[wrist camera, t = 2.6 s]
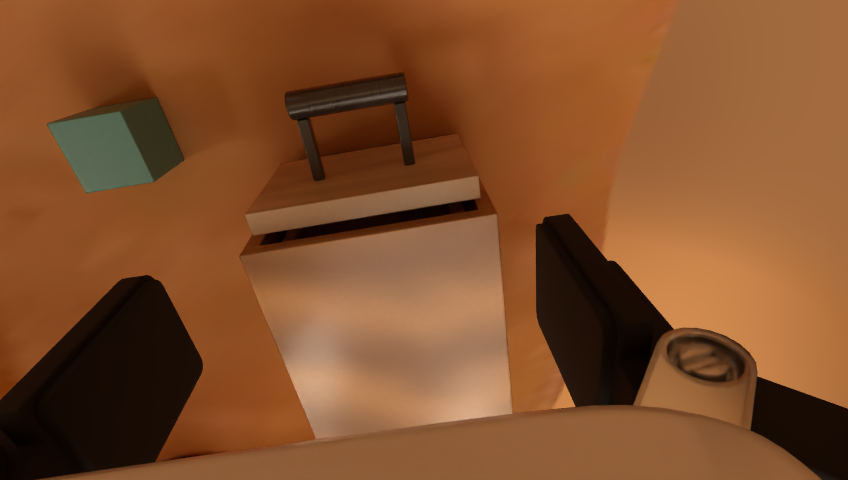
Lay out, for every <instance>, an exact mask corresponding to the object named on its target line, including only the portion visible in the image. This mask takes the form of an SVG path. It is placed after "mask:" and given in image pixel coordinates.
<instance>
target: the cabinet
mask: <svg viewBox="0 0 848 480" xmlns="http://www.w3.org/2000/svg"><path fill="white" fill-rule="evenodd" d="M479 184H480V195H481V198H478V199H472V200H466V201H461V202H462V205H463V208H464V211H465V212H461V213H455V214H449V215H443V216H437V217H431V218H425V219H419V220H413V221H407V222H400V223H394V224H388V225H382V226H376V227H370V228H364V229H358V230H352V231H346V232H340V233H334V234H328V235H322V236H316V237H310V238H304V239H298V240H292V241H286V242H282V241H283V239H284V237H285V235H286V233H287V231H288V230H285V231H279V232H273V233H267V234H261V235H255V236H253V235H252V236H251V238H250V239H249V241H248V243H247V244H246V246H245V248H244V249H243V251H242V252H241V254H240V256H239V257H240V259H241V262H242V264H243V266H244V269H245V271H246V274H247V276H248V278H249V281H250V283H251V285H252V288H253V290H254V293H255V295H256V297H257V300H258V302H259V304H260V307H261V309H262V312H263V314H264V316H265V319H266V321H267V324H268V326H269V328H270V331H271V333H272V335H273V338H274V340H275V343H276V345H277V347H278V350H279V352H280V354H281V357H282V359H283V362H284V364H285V366H286V369H287V371H288V373H289V376H290V378H291V381H292V383H293V385H294V388H295V390H296V393H297V395H298V397H299V400H300V402H301V404H302V407H303V409H304V412H305V414H306V416H307V419H308V421H309V423H310V426H311V428H312V431H313V433H314V435H315V438H316V440H317V439H324V438H331V437H339V436H346V435H353V434H361V433H368V432H376V431H383V430H391V429H398V428H406V427H413V426H421V425H428V424H435V423H443V422H450V421H458V420H465V419H473V418H482V417H490V416H498V415H506V414H513V407H512V394H511V381H510V368H509V355H508V342H507V329H506V316H505V304H504V291H503V278H502V265H501V252H500V239H499V226H498V214H497V212H496V210H495V208H494V206H493V204H492V202H491V200H490V198H489V196H488V194H487V192H486V190H485V188H484V186H483V184H482V182H481V180H480V178H479Z"/></svg>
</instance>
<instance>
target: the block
mask: <svg viewBox="0 0 848 480" xmlns="http://www.w3.org/2000/svg"><path fill="white" fill-rule="evenodd" d="M47 126H48V128H49V129H50V131H51V133H52V134H53V136H54V138H55V140H56V141H57V143H58V145H59V147H60V148H61V150H62V152H63V154H64V155H65V157H66V159H67V161H68V162H69V164H70V166H71V168H72V169H73V171H74V173H75V175H76V176H77V178H78V180H79V182H80V183H81V185H82V187H83V189H84V190H85V192H86V193H92V192H97V191H103V190H109V189H115V188H121V187H127V186H133V185H139V184H145V183H151V182H155V181H156V180H157V179H159V178H160V177H162V176H163V175H164V174H166V173H167V172H169V171H170V170H171V169H173V168H174V167H175V166H177V165H178V164H180V163H181V162H182V161H184V159H183V156H182V154H181V152H180V149H179V147H178V145H177V143H176V140H175V138H174V136H173V133H172V131H171V129H170V127H169V124H168V122H167V120H166V117H165V115H164V113H163V111H162V108H161V106H160V104H159V101H158V99H157V98H150V99H144V100H138V101H132V102H127V103H121V104H115V105H109V106H103V107H98V108H92V109H89V110H86V111H83V112H80V113H77V114H74V115H71V116H68V117H65V118H62V119H59V120H56V121H53V122H50V123H47Z"/></svg>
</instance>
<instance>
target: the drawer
mask: <svg viewBox="0 0 848 480" xmlns="http://www.w3.org/2000/svg"><path fill="white" fill-rule="evenodd" d="M408 100H409V98H408V92H407V86H406V80H405V74H404V72H399V73H393V74H387V75H381V76H375V77H370V78H364V79H358V80H352V81H346V82H340V83H335V84H329V85H323V86H317V87H311V88H306V89H300V90H294V91H288V92H286V93H285V105H286V109H287V112H288V114H289V116H290V118H291V119H292V120H297V124H298V128H299V131H300V135H301V138H302V141H303V145H304V148H305V152H306V155H307V158H308V159H305V160H299V161H293V162H287V163H282V164H281V165H280V166H279V168H278V169H277V170H276V172H275V173H274V175H273V176H272V177H271V179H270V180H269V182H268V183H267V184H266V186H265V187H264V188H263V190H262V191H261V193H260V194H259V195H258V197H257V198H256V200H255V201H254V202H253V204H252V205H251V206H250V208H249V209H248V211H247V212H246V213H245V217H246V220H247V222H248V225H249V227H250V230H251V232H252V235H253V236H255V235H261V234H267V233H273V232H279V231H285V230H288V231H287V233H286V235H285V237H284V239H283V241H282V242H286V241H292V240H298V239H304V238H310V237H316V236H322V235H328V234H334V233H340V232H346V231H352V230H358V229H364V228H370V227H376V226H382V225H388V224H394V223H400V222H407V221H413V220H419V219H425V218H431V217H437V216H443V215H449V214H455V213H461V212H465V211H464V208H463V205H462V202H461V201H466V200H472V199H478V198H481V195H480V184H479V176H478V174H477V172H476V170H475V168H474V166H473V164H472V162H471V160H470V158H469V156H468V154H467V152H466V150H465V148H464V146H463V144H462V142H461V140H460V138H459V137H458V135H457V134H453V135H447V136H441V137H435V138H429V139H423V140H417V141H412V139H411V134H410V128H409V122H408V116H407V110H406V104H405V101H408ZM393 103H394V110H395V115H396V121H397V126H398V132H399V137H400V144H394V145H388V146H382V147H376V148H370V149H364V150H358V151H352V152H346V153H340V154H334V155H328V156H323V157H321V156H320V153H319V149H318V145H317V142H316V138H315V135H314V131H313V127H312V124H311V120H310V118H311V117H317V116H323V115H329V114H334V113H340V112H346V111H352V110H358V109H364V108H370V107H375V106H381V105H387V104H393Z"/></svg>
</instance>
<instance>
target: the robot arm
mask: <svg viewBox="0 0 848 480" xmlns="http://www.w3.org/2000/svg"><path fill="white" fill-rule="evenodd" d="M536 312H537V319H538V323H539V326H540V328H541V330H542V332H543V335H544V337H545V339H546V341H547V344H548V346H549V348H550V350H551V352H552V355H553V357H554V359H555V361H556V364H557V366H558V368H559V370H560V373H561V375H562V377H563V379H564V382H565V384H566V386H567V388H568V390H569V392H570V395H571V397H572V400H573V402H574V404H575V406H576V407H572V408H561V409H549V410H539V411H529V412H520V413H513V414H506V415H498V416H490V417H482V418H473V419H465V420H458V421H450V422H443V423H435V424H428V425H421V426H413V427H406V428H398V429H391V430H383V431H376V432H368V433H361V434H353V435H346V436H339V437H331V438H324V439H317V440H310V441H302V442H295V443H288V444H281V445H274V446H266V447H259V448H252V449H245V450H238V451H231V452H224V453H217V454H210V455H202V456H195V457H188V458H181V459H175V460H168V461H161V462H155V461H156V459H157V457H158V455H159V453H160V451H161V450H162V448H163V446H164V444H165V442H166V440H167V438H168V436H169V434H170V432H171V431H172V429H173V427H174V425H175V423H176V421H177V419H178V417H179V415H180V413H181V411H182V410H183V408H184V406H185V404H186V402H187V400H188V398H189V396H190V394H191V392H192V390H193V389H194V387H195V385H196V383H197V381H198V379H199V377H200V375H201V373H202V369H203V363H202V359H201V357H200V355H199V353H198V351H197V349H196V347H195V345H194V343H193V342H192V340H191V338H190V336H189V334H188V332H187V330H186V328H185V326H184V324H183V323H182V321H181V319H180V317H179V315H178V313H177V311H176V309H175V307H174V305H173V304H172V302H171V300H170V298H169V296H168V294H167V292H166V290H165V288H164V286H163V285H162V283H161V282H160V281H158V280H155V279H154V278H152V277H151V276H148V275H145V276H138V277H131V278H125V279H121V280H120V281H119V282H118V283H117V284H116V285H115V286H114V287H113V288H112V289H111V290H110V291H109V292H108V293H107V294H106V295H105V296H104V297H103V298H102V299H101V300H100V301H99V302H98V303H97V304H96V305H95V306H94V307H93V308H92V309H91V310H90V311H89V312H88V313H87V314H86V315H85V316H84V317H83V318H82V319H81V320H80V321H79V322H78V323H77V324H76V325H75V326H74V327H73V328H72V329H71V330H70V331H69V332H68V333H67V334H66V335H65V336H64V337H63V338H62V339H61V340H60V341H59V342H58V343H57V344H56V345H55V346H54V347H53V348H52V349H51V350H50V351H49V352H48V353H47V354H46V355H45V356H44V357H43V358H42V359H41V360H40V361H39V362H38V363H37V364H36V365H35V366H34V367H33V368H32V369H31V370H30V371H29V372H28V373H27V374H26V375H25V376H24V377H23V378H22V379H21V380H20V381H19V382H18V383H17V384H16V385H15V386H14V387H13V388H12V389H11V390H10V391H9V392H8V393H7V394H6V395H5V396H4V397H3V398H2V399H1V400H0V480H848V409H847V408H844V407H841V406H839V405H836V404H833V403H830V402H827V401H825V400H822V399H819V398H816V397H813V396H811V395H808V394H805V393H802V392H799V391H797V390H794V389H791V388H788V387H785V386H783V385H780V384H777V383H774V382H771V381H769V380H766V379H763V378H760V377H757V366H756V362H755V361H754V359H753V357H752V356H751V354H750V353H749V352H748V351H747V350H746V349H745V348H743V347H742V346H741V345H740V344H739V343H737V342H735V341H734V340H732V339H730V338H728V337H726V336H724V335H721V334H719V333H716V332H713V331H710V330H704V329H699V328H679V329H675V330H674V329H673V328H672V327H671V325H670V324H669V323H668V322H667V321H666V320H665V319H664V317H663V316H662V315H661V314H660V312H659V311H658V310H657V309H656V308H655V307H654V305H653V304H652V303H651V302H650V301H649V300H648V299H647V297H646V296H645V295H644V294H643V293H642V292H641V290H640V289H639V288H638V287H637V286H636V285H635V283H634V282H633V281H632V280H631V279H630V277H629V276H628V275H627V274H626V273H625V272H624V270H623V269H622V268H621V267H620V266H619V265H618V264H617V263H616V262H615V261H607V259H606V258H605V257H604V256H603V255H602V253H601V252H600V251H599V250H598V248H597V247H596V246H595V245H594V244H593V242H592V241H591V240H590V239H589V238H588V236H587V235H586V234H585V233H584V231H583V230H582V229H581V228H580V227H579V225H578V224H577V223H576V222H575V221H574V219H573V218H572V217H571V216H570V215H569V214H563V215H556V216H549V217H545V218H544V220H543V223H542V224H537V225H536Z"/></svg>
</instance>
